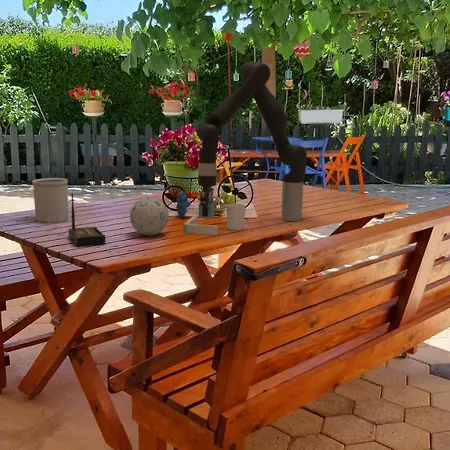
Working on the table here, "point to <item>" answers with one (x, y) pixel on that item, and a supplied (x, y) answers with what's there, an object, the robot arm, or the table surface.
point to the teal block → (210, 210)
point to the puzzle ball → (149, 216)
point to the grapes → (182, 204)
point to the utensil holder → (51, 199)
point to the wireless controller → (85, 234)
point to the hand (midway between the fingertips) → (206, 214)
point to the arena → (199, 228)
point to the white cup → (235, 216)
